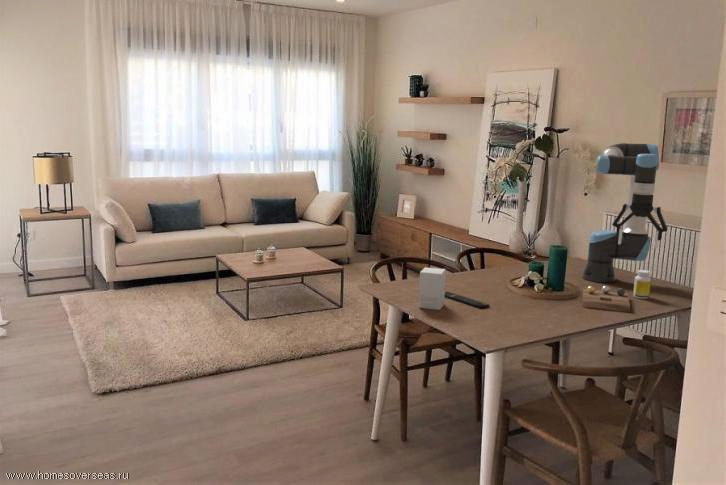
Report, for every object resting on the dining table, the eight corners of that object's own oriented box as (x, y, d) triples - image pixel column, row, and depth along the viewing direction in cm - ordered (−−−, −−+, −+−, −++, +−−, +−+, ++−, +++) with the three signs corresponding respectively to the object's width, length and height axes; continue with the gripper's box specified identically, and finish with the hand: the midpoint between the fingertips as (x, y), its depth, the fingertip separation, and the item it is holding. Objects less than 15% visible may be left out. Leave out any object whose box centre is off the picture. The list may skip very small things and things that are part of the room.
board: (582, 293, 281) (583, 288, 281) (626, 298, 276) (627, 292, 275) (582, 306, 263) (582, 300, 262) (629, 311, 257) (630, 305, 257)
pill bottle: (650, 299, 275) (653, 273, 272) (634, 298, 276) (637, 272, 273) (647, 295, 281) (650, 269, 278) (631, 294, 282) (634, 268, 280)
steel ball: (601, 291, 276) (602, 284, 276) (609, 292, 275) (609, 285, 275) (601, 293, 273) (602, 286, 273) (609, 294, 272) (610, 287, 272)
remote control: (447, 294, 278) (447, 291, 278) (490, 308, 260) (490, 305, 260) (438, 296, 275) (438, 293, 275) (481, 310, 257) (482, 307, 257)
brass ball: (586, 292, 275) (587, 284, 275) (594, 292, 274) (595, 285, 274) (586, 293, 272) (587, 286, 272) (594, 294, 271) (595, 287, 271)
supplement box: (445, 304, 262) (446, 268, 259) (440, 310, 254) (441, 274, 251) (423, 301, 265) (424, 266, 262) (418, 307, 257) (419, 271, 254)
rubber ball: (616, 293, 273) (616, 286, 273) (624, 294, 272) (625, 287, 272) (616, 295, 270) (617, 288, 270) (624, 296, 269) (625, 289, 269)
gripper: (608, 191, 255) (603, 243, 260) (676, 197, 242) (670, 251, 247) (611, 189, 261) (606, 240, 266) (679, 195, 249) (672, 248, 253)
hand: (637, 246), depth 256 cm, fingers open, 13 cm apart
